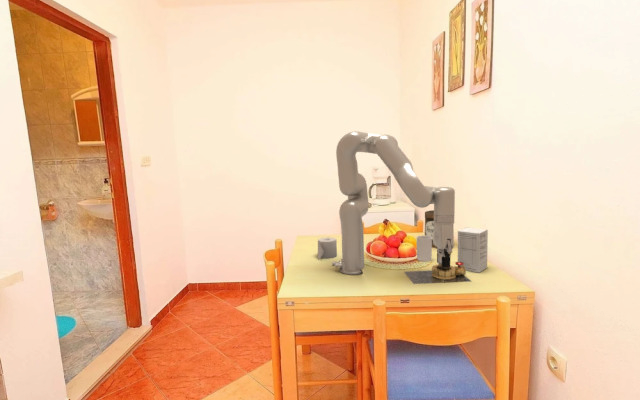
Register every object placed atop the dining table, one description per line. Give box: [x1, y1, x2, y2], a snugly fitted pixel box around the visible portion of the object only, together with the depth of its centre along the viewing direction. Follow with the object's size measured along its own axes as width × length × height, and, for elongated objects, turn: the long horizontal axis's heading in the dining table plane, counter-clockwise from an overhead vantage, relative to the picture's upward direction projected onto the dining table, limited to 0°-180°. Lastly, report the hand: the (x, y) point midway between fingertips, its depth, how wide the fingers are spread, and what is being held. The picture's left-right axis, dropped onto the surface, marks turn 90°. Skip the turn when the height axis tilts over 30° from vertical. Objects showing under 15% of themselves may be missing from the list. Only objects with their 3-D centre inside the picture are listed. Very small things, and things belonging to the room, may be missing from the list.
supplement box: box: [457, 227, 489, 273], centre depth 150 cm, size 10×9×17 cm
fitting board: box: [404, 261, 472, 285], centre depth 138 cm, size 22×14×7 cm, turn 91°
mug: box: [416, 235, 433, 262], centre depth 162 cm, size 10×7×12 cm, turn 161°
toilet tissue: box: [317, 236, 338, 260], centre depth 175 cm, size 9×13×9 cm
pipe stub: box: [437, 247, 449, 270], centre depth 138 cm, size 5×5×9 cm
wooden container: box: [424, 209, 455, 249], centre depth 189 cm, size 15×15×22 cm
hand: (443, 264), depth 138 cm, fingers closed on pipe stub, 4 cm apart
